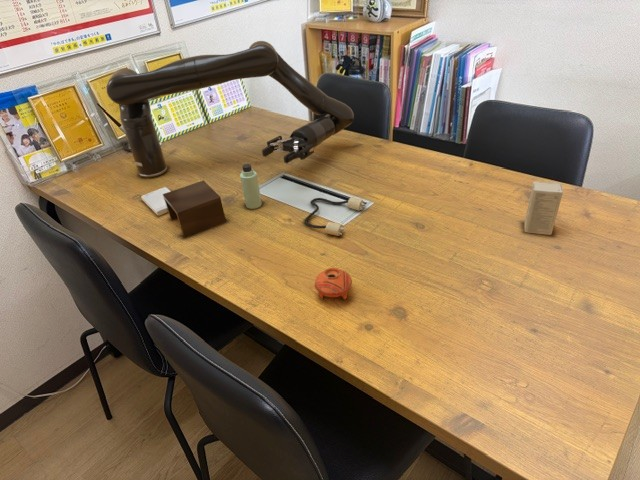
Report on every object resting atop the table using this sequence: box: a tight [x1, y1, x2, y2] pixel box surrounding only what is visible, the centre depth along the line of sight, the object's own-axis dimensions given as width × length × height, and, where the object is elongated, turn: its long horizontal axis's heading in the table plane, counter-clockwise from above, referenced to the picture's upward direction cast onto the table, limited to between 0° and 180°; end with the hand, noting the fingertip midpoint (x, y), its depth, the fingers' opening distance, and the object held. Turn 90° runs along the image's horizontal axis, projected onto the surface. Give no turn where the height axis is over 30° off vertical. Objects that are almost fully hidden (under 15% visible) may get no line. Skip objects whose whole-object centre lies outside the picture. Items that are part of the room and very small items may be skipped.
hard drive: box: [140, 186, 172, 217], centre depth 134 cm, size 2×8×12 cm
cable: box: [304, 196, 366, 237], centre depth 120 cm, size 16×16×4 cm
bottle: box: [239, 163, 263, 210], centre depth 126 cm, size 5×5×13 cm
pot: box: [314, 267, 353, 301], centre depth 95 cm, size 8×8×7 cm
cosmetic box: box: [523, 181, 564, 236], centre depth 107 cm, size 6×4×12 cm
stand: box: [163, 180, 227, 238], centre depth 123 cm, size 12×12×8 cm
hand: (273, 156), depth 130 cm, fingers open, 8 cm apart
